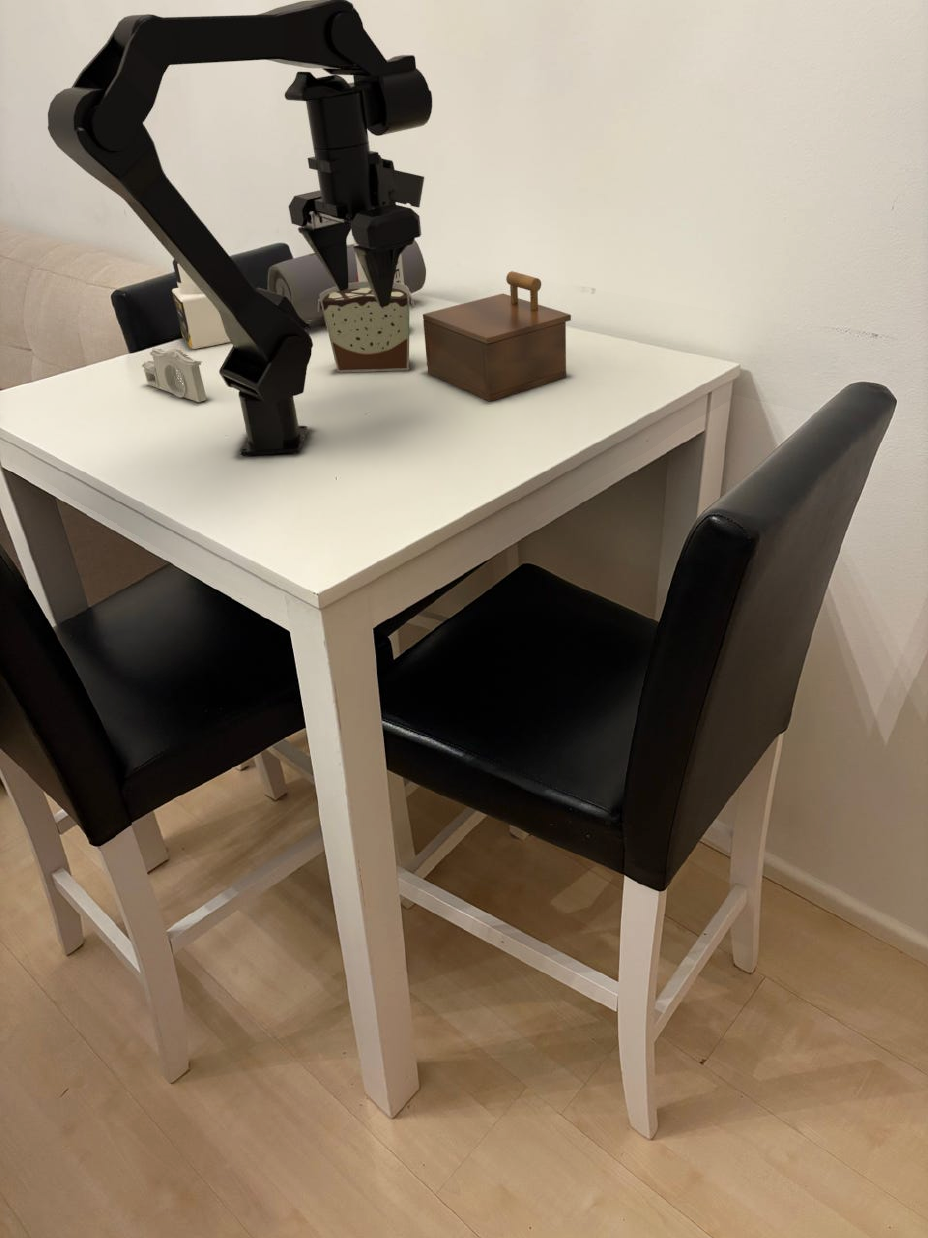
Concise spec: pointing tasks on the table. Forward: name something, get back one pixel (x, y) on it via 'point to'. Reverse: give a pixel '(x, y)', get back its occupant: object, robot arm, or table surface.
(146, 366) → the grey toy camera
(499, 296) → the tea box lid
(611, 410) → the table surface
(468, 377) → the tea box
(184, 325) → the medicine bottle
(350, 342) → the food container
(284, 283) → the bluetooth speaker
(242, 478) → the table surface
